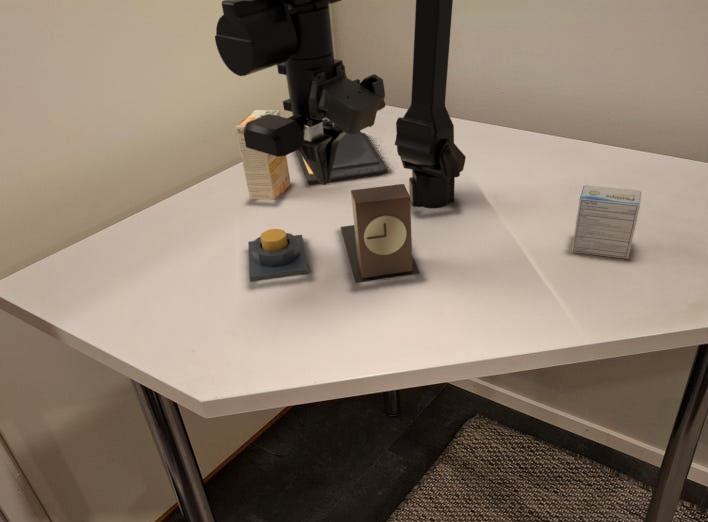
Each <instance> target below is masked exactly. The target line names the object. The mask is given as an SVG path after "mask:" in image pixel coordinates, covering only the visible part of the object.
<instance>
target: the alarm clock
mask: <svg viewBox="0 0 708 522" xmlns="http://www.w3.org/2000/svg"><path fill="white" fill-rule="evenodd" d="M350 196H351V205H352V206H351V207H352V218H353V225H354V228H355V238H356V249H357V259H358V265H359V269H360V272H361V276H362V278H368V277H375V276H382V275H389V274H396V273H404V272H411V271H413V270H412V255H413V243H412V239H413V238H412V211H411V209H412V207H411V206H412V204H411V202H410V193H409V191H408V190H407V187H406V185H405V183H399V184H391V185H384V186H374V187H367V188H358V189H352V190H350Z"/></svg>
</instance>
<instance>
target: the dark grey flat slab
mask: <svg viewBox="0 0 708 522" xmlns="http://www.w3.org/2000/svg"><path fill="white" fill-rule="evenodd" d="M340 231H341V235H342V239H343V242H344V245H345V250H346V254H347V257H348V261H349V265H350V268H351V272H352V275H353V279H354V282H355V284H359V283H365V282H366V283H367V282H374V281H381V280H387V279H393V278H401V277H408V276H415V275H420V274H421V272H420V270H419V267H418V265H417V262H416V260H415V257H414V255H413V254H412V270H413V271H411V272H404V273H396V274H389V275H382V276H375V277H368V278H362V276H361V272H360V269H359V265H358V259H357V249H356V238H355V228H354V224H352V225H345V226H340Z"/></svg>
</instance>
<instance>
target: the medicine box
mask: <svg viewBox="0 0 708 522" xmlns="http://www.w3.org/2000/svg"><path fill="white" fill-rule="evenodd" d="M641 200H642V191H641V190H639V189H631V188H621V187H611V186H599V185H589V184H584V185H583V186H582V191H581V193H580V196H579V200H578V207H577V215H576V221H575V228H574V235H573V240H572V247H571V253H577V254H585V255H593V256H600V257H610V258H617V259H624V260H628V259H629V258H630V253H631V247H632V243H633V238H634V234H635V230H636V226H637V225H636V224H637V221H638V216H639V212H640V209H641V203H642V201H641Z"/></svg>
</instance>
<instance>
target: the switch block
mask: <svg viewBox="0 0 708 522" xmlns="http://www.w3.org/2000/svg"><path fill="white" fill-rule="evenodd" d="M286 236H287V241H288V246H287V247H286V248H284V249H282V250H278V251H265V250H264V249H263V248H262V243H261V238H260V236H259V237H257V238H256V239H255V240H249V241H248V242H247V243H248V244H247V245H248V247H247V248H248V274H249V276H248V277H249V281H250V282H256V281H263V280H271V279H278V278H286V277H293V276H300V275H307V274H309V268H308V262H307V256H306V252H305V251H306V250H305V243H304V238H303V234H295V235H294V234H292V233H289V232H286Z"/></svg>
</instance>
